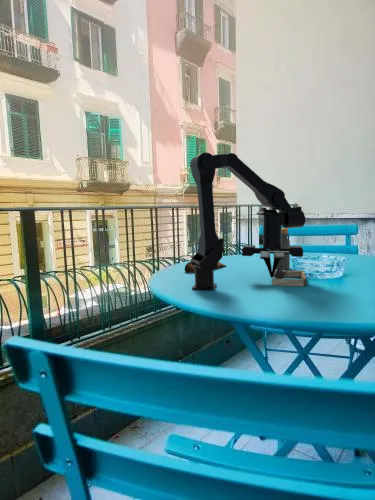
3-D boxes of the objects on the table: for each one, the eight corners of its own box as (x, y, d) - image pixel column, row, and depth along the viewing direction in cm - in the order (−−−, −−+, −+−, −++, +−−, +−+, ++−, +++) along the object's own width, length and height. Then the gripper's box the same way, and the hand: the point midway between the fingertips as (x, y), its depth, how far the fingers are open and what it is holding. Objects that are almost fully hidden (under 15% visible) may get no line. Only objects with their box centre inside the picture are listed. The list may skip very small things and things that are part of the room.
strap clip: (271, 273, 121) (277, 262, 120) (280, 277, 121) (286, 266, 120) (275, 279, 113) (281, 267, 112) (284, 283, 113) (290, 271, 112)
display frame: (306, 286, 108) (306, 279, 108) (272, 285, 110) (272, 279, 110) (303, 276, 121) (303, 270, 121) (272, 276, 123) (272, 270, 123)
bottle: (291, 269, 133) (291, 229, 131) (275, 270, 134) (275, 229, 131) (287, 266, 139) (287, 227, 137) (272, 267, 139) (272, 228, 137)
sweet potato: (203, 274, 130) (195, 257, 131) (190, 282, 134) (182, 266, 135) (227, 265, 144) (220, 251, 145) (214, 273, 148) (207, 259, 149)
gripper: (301, 226, 120) (300, 272, 122) (244, 227, 125) (245, 271, 127) (303, 229, 109) (302, 280, 112) (241, 230, 114) (241, 278, 116)
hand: (271, 277), depth 117 cm, fingers closed
